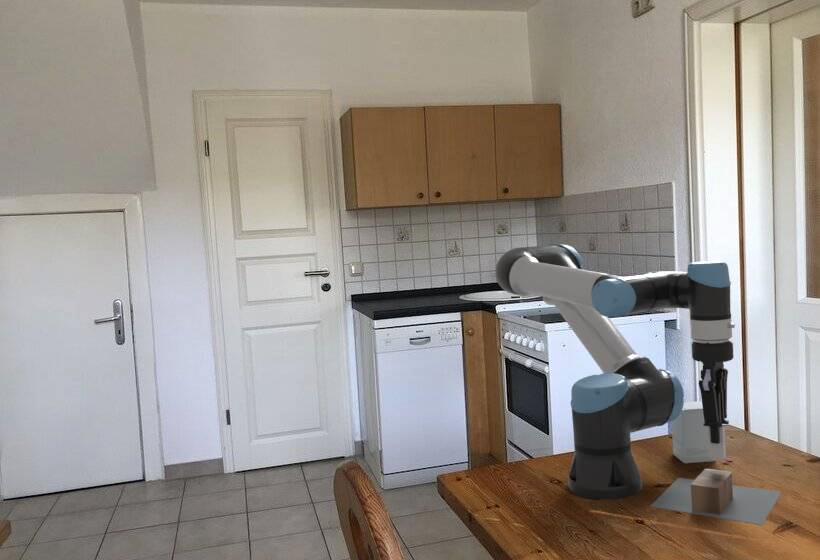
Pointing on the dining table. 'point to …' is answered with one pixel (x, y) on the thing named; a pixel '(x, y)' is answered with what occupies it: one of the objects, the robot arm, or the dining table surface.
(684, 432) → the supplement box
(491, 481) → the dining table surface
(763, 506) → the rubber mat
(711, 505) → the walnut block
